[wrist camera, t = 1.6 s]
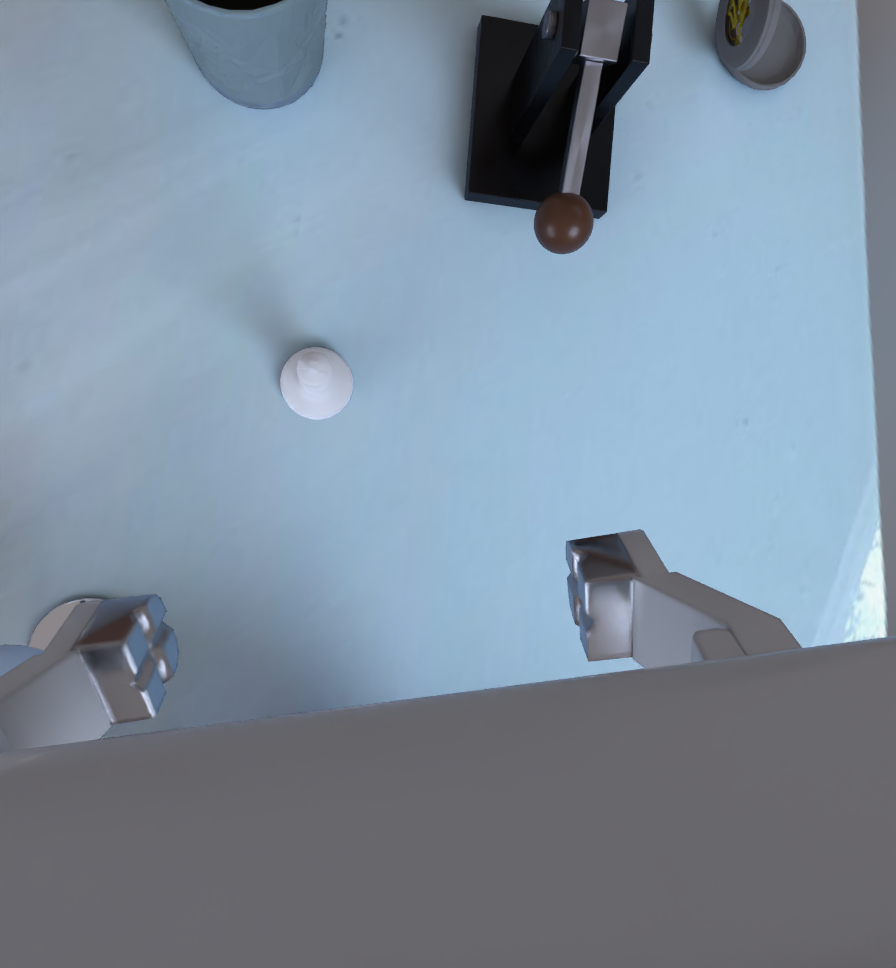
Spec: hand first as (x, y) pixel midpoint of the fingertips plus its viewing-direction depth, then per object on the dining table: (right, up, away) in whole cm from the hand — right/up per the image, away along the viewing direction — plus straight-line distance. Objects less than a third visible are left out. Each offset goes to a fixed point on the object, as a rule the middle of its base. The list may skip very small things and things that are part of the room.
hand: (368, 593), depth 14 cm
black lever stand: (+8, +28, +36) cm, 46 cm away
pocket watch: (+24, +35, +39) cm, 57 cm away
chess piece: (-7, +9, +34) cm, 36 cm away
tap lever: (+9, +23, +29) cm, 38 cm away
